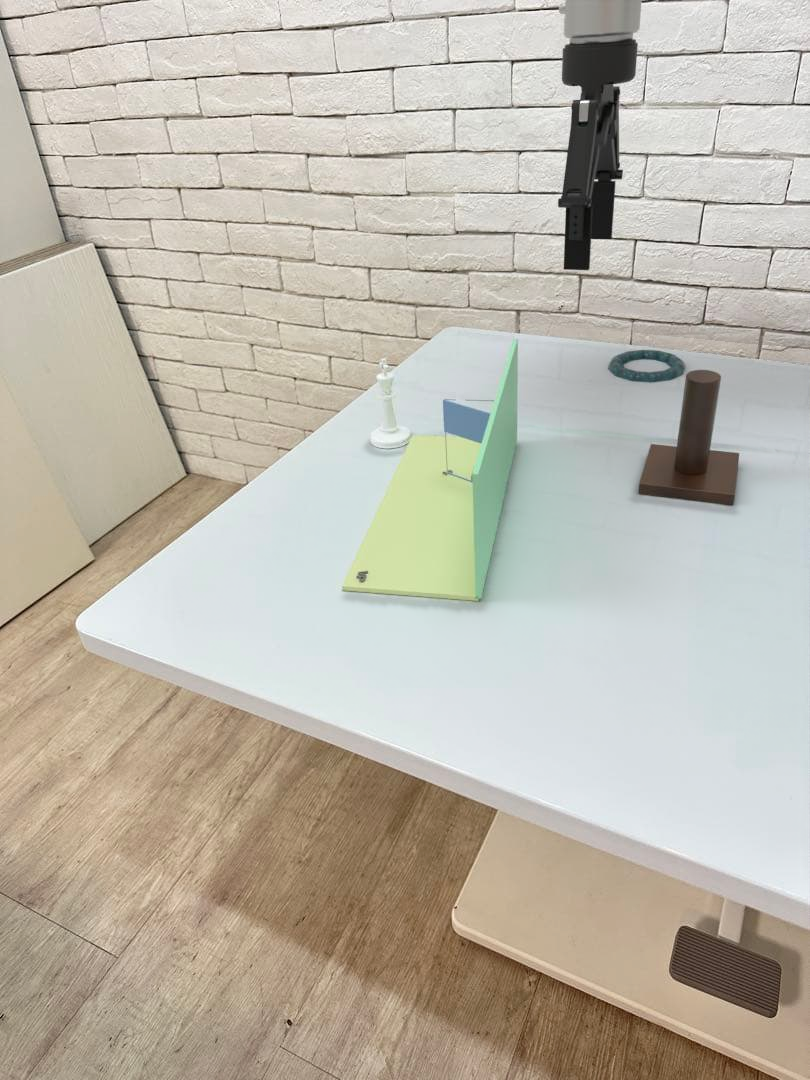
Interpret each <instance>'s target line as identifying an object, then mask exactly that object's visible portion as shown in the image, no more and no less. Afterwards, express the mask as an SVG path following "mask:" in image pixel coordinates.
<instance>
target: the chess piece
mask: <svg viewBox="0 0 810 1080" xmlns="http://www.w3.org/2000/svg"><path fill="white" fill-rule="evenodd" d="M378 364H379V367H380V369H381V372H380V373H378V374H376V378H375V379H376V380H377V383H378V384H379V388H380V390H381V391H380V392H379V393H377V398H378V399H379V400H381V401H382V424H381V425H380V426H379V427H377V428H376V429H374V430H373V431H372V432H370V440H369V441H370V444H371V445H372V446H374V447H376V448H379V449H385V450H386V449H387V450H389V449H390V450H391V449H396V448H397V449H398V448H401V447H404V446H406V445H408V444H409V442H410V439H411V437H412V435H411V433H412V432H411V431H410V429H409V428H408V427H406V426H404V425H400V424H399V423H398V422H397V419H396V417H395V416H396V415H395V411H394V407H393V401H392V400H393V399H395V398H396V397H397V394H396V392H395V391H393V390H392V387H393V382H394V379H395V375H394V374H393V373H392V372H389V371H390V365H388V364H387V359H386V358H385V357H383V358H381V359H380V362H379V363H378Z"/></svg>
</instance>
